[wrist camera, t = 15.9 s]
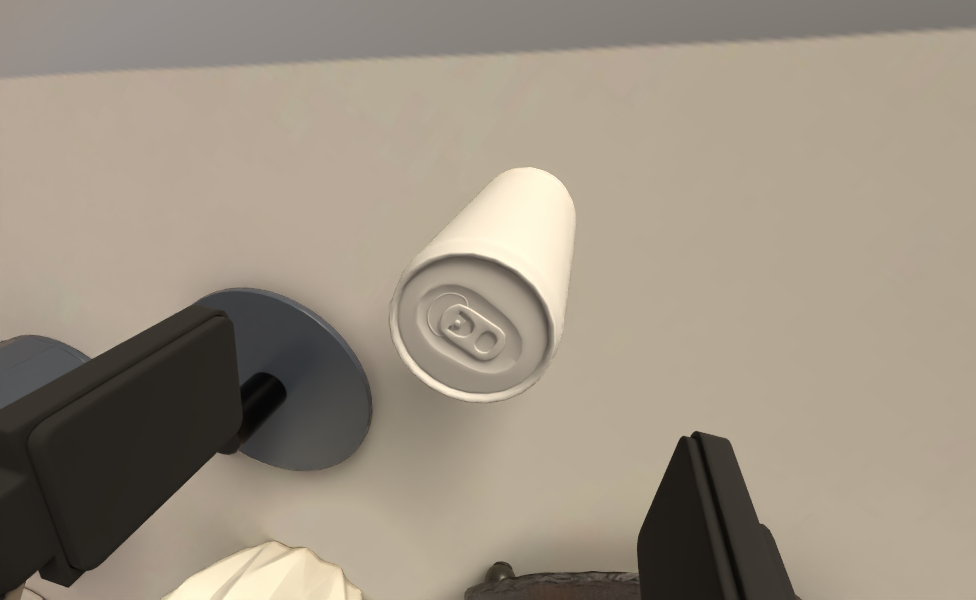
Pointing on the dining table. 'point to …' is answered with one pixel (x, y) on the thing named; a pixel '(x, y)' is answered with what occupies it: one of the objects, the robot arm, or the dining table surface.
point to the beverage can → (489, 291)
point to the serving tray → (556, 586)
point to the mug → (30, 595)
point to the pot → (33, 365)
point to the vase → (268, 577)
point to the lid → (293, 383)
